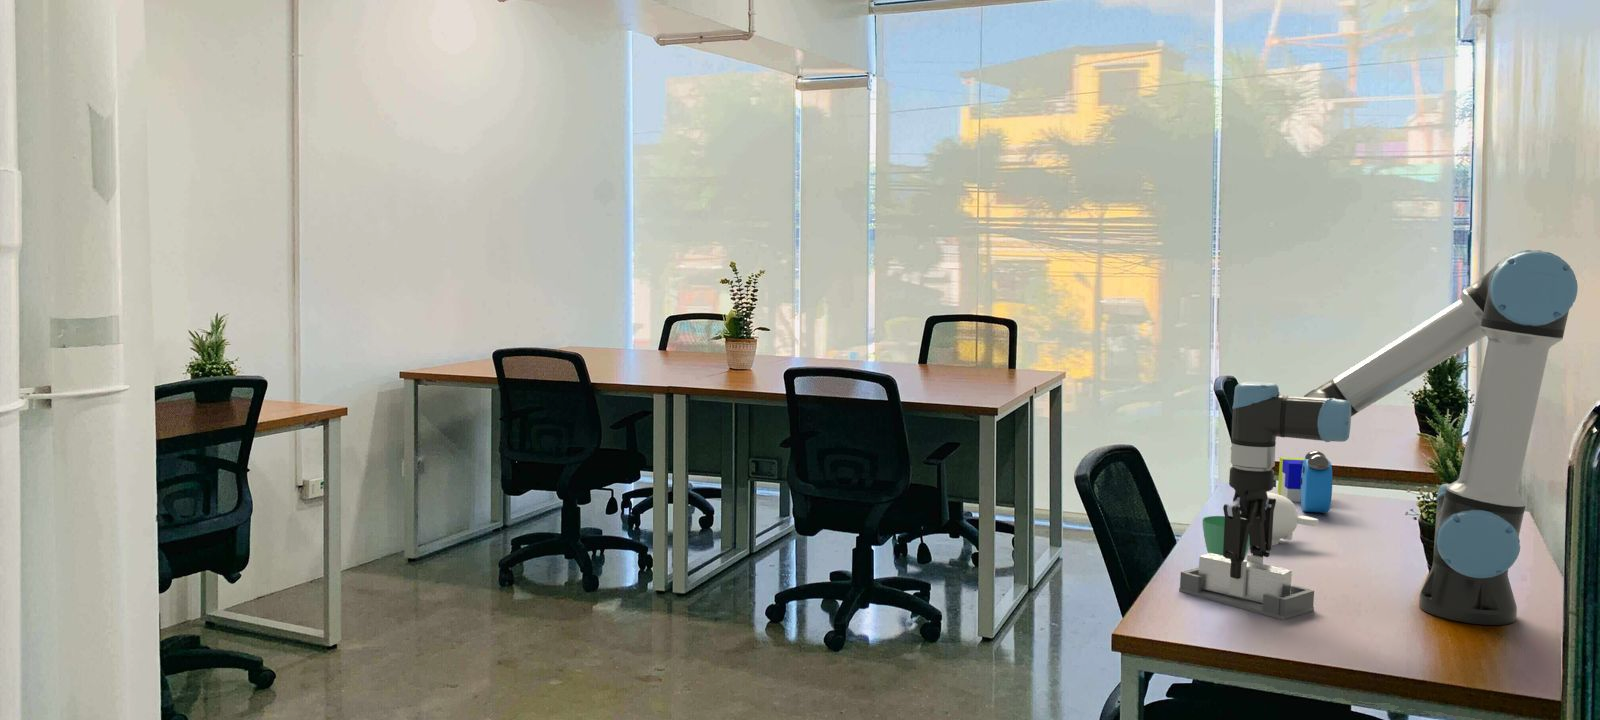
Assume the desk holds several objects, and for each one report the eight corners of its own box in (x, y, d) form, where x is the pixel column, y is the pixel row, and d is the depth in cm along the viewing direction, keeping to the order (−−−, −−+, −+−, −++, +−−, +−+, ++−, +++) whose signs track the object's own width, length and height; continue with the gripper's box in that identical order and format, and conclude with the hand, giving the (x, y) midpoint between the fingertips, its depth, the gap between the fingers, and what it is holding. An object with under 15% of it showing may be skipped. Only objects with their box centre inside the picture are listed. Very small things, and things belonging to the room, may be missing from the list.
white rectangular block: (1289, 602, 209) (1292, 570, 208) (1281, 607, 206) (1283, 574, 205) (1206, 583, 219) (1208, 552, 219) (1197, 587, 217) (1199, 556, 216)
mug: (1248, 579, 227) (1251, 529, 226) (1196, 572, 231) (1198, 523, 230) (1257, 562, 239) (1260, 515, 238) (1208, 556, 244) (1210, 509, 243)
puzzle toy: (1287, 501, 302) (1289, 463, 302) (1277, 493, 312) (1279, 457, 311) (1327, 503, 301) (1329, 465, 300) (1317, 495, 311) (1319, 458, 310)
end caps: (1313, 610, 207) (1314, 590, 207) (1283, 620, 201) (1284, 599, 201) (1209, 582, 224) (1210, 564, 224) (1178, 590, 218) (1179, 572, 218)
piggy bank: (1244, 553, 253) (1309, 558, 255) (1258, 506, 249) (1324, 511, 250) (1221, 524, 265) (1283, 528, 266) (1234, 479, 260) (1297, 484, 262)
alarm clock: (1330, 518, 282) (1334, 458, 281) (1303, 516, 284) (1306, 456, 283) (1324, 508, 295) (1328, 449, 293) (1298, 505, 297) (1301, 448, 295)
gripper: (1259, 459, 219) (1253, 580, 221) (1205, 468, 208) (1199, 595, 210) (1297, 465, 213) (1290, 589, 215) (1243, 475, 202) (1236, 605, 204)
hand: (1245, 592), depth 212 cm, fingers closed on white rectangular block, 5 cm apart
